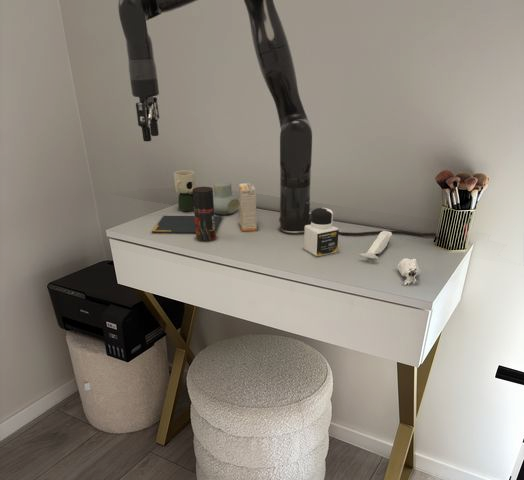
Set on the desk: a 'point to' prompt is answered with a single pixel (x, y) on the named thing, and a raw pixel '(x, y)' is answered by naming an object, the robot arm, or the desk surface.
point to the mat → (180, 224)
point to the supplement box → (247, 206)
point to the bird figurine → (408, 270)
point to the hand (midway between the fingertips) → (151, 138)
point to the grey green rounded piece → (224, 199)
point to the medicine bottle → (321, 233)
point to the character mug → (185, 189)
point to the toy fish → (378, 245)
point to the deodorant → (204, 213)
